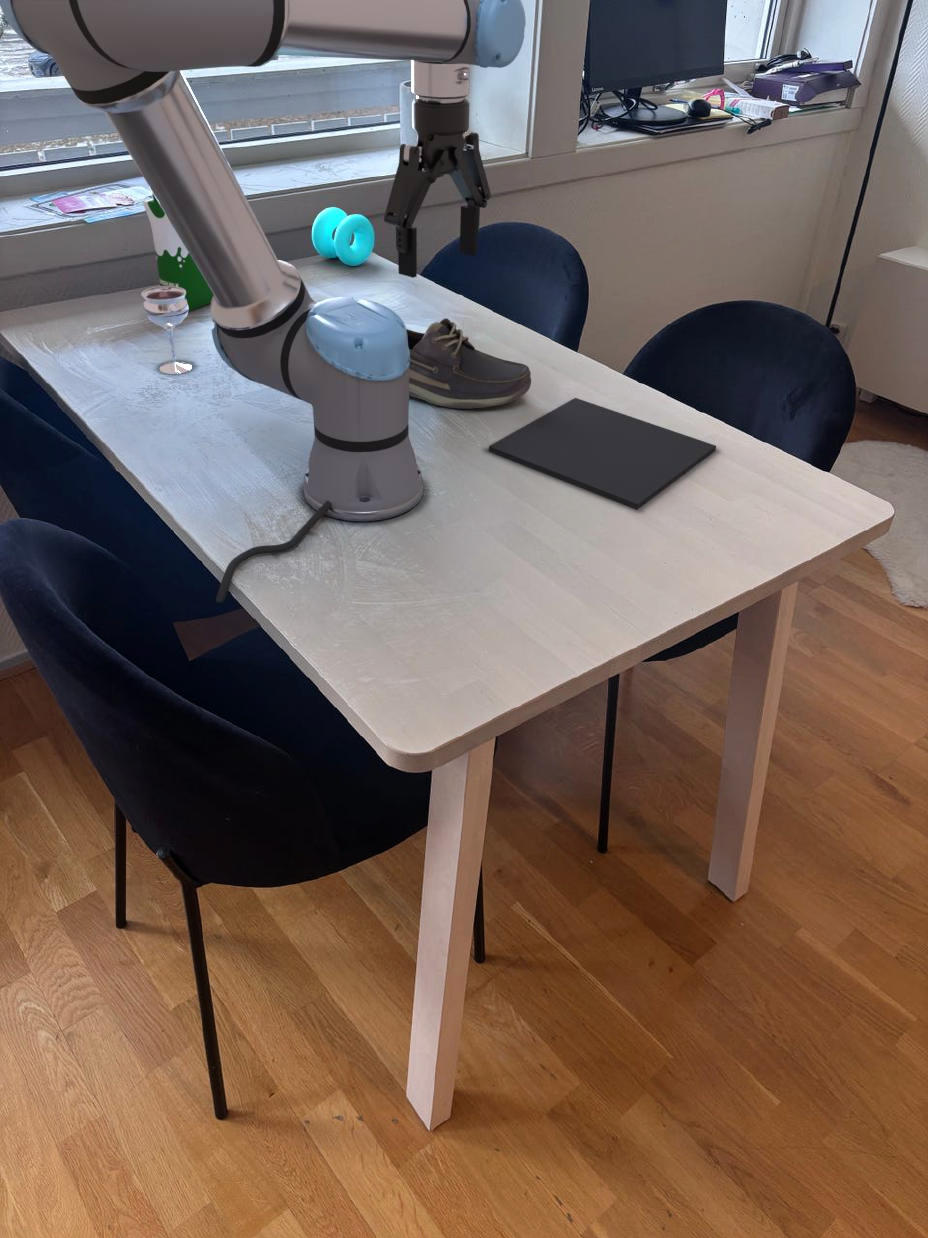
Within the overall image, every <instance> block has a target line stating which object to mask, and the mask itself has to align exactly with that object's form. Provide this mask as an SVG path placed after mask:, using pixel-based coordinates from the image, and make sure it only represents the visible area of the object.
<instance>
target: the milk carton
mask: <svg viewBox="0 0 928 1238" xmlns="http://www.w3.org/2000/svg"><path fill="white" fill-rule="evenodd" d="M151 193H152V198H149V199H145V200H142V204H143V207H144V210H145V213H146V215H147V218H148V220H149V224H150V227H151V233H152V240H153V246H154V252H155V259H156V265H157V266H156V267H157V272H158V281H159V286H175V287H180V288H183V289H184V290H186V294H185V298H186V300H187V302H188V307H189V310H188V312H190V311H193V310H195V309H198V308H200V307H203V306H206V305H209V304H211V301H212V298H213V295H214V294H213V292H212V291H211V289H210V287H209V286H208V284H207V282H206V281H205V279H204V277H203V276H202V274H201V272H200V271H199V269H198V267H197V266H196V264H195V262H194V261H193V259H192V257H191V256H190V254H189V252H188V251H187V249H186V247H185V245H184V244H183V242H182V240H181V239H180V237H179V235H178V234H177V232H176V230H175V229H174V227H173V225H172V224H171V222H170V220H169V219H168V217H167V215H166V214H165V212H164V210H163V209H162V207H161V205H160V204H159V202H158V200H157V199H156V197H155V195H154V194H153V192H152V191H151Z"/></svg>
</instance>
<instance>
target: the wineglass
mask: <svg viewBox="0 0 928 1238" xmlns="http://www.w3.org/2000/svg"><path fill="white" fill-rule="evenodd" d="M185 294H186V290H184V289H183V288H180V287H175V286H160V285H158V286H153V287H149V288H146V289H145V290H143V291H142V292H141V295H140V296H141V297H142V298H143V299H144V300H143V304H142V305H143V306H142V309H143V312H144V314H145V316H146V318H147V319H148V320H149V321H151V322H152V323H153V324H154V325H156V326H159V327H162V328H163V329H164V330H166V332H167V336H168V342H169V347H170V351H171V357H172V361H171V362H167V363H164V364H162V365H160V367H159V371H160V372H161V373H163V374H168V375H180V374H184V373H187V372H189V371H190V370H191V369H192V365H191V364H190V363H189V362H185V361H177V359H176V352H175V342H174V332H173V330H175V327H176V326H178V325H180V324H182V323H183V321H184V320H185V319H186V317H187V316H188V313H189V311H188V310H189V307H188V302H187V300H186V298H185Z"/></svg>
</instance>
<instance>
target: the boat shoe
mask: <svg viewBox="0 0 928 1238" xmlns="http://www.w3.org/2000/svg"><path fill="white" fill-rule="evenodd" d="M406 330H407V337H408V347H409V351H410V363H409V397H413V398H417V399H419V400H424V401H425V402H427V403H429V404H432V405H434V406H439V407H444V408H449V409H457V410H460V409H461V410H468V409H469V410H470V409H471V410H472V409H483V408H490V407H496V406H501V405H505V404H508V403H511V402H513V401H515V400H517V399H519V398H521V397H523V396H524V395H525V394H526V393H528V391H529V390H530V388H531V385H532V378H531V375H532V374H531V373H532V372H531V370H530V367H529V366H528V365H527V364H524V363H521V362H515V361H510V360H507V359H503V358H499V357H496V356H493V355H490V354H488V353H485V352H482V351H480V350H478V349H476V347H475V346H474V345H473V344H472V343H471V342H470V341H469V336H463V330H462V328H458V329H457V323H456V322H453V321H451V320H450V319H449V318H447V317H445V318H443V319H442V320H441V321H439V322H438V321H435V322H433V323H431V324H430V325H429V326H428V327H427V328H426V330H425V332H418V331H414V330H411V329H409V328H406Z"/></svg>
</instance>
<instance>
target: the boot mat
mask: <svg viewBox="0 0 928 1238" xmlns="http://www.w3.org/2000/svg"><path fill="white" fill-rule="evenodd" d="M716 450H717V445H715V444H712V443H710V442H706V441H703V440H702V439H701V440H700V439H698V438H695V437H692V436H689V435H686V434H684V433H680V432H677V431H674V430H671V429H669V428H665V427H663V426H659V425H657V424H654V423H651V422H648V421H645V420H642V419H639V418H635V417H632V416H630V415H627V414H624V413H622V412H618V411H615V410H613V409H610V408H607V407H605V406H601V405H597V404H595V403H592V402H589V401H586V400H583V399H581V398H578V397H574V398H572V399H570V400H568V401H567V402H565V403H564V404H562V405H559V406H558V407H557V408H555V409H552V410H551V411H549V412H547V413H545V414H544V415H542V416H540V417H538V418H536V419H535V420H533V421H531V422H529V423H528V424H526V425H524V426H522V427H521V428H518V429H517V430H515V431H514V432H512V433H510V434H508V435H506V436H505V437H503V438H501V439H499V440H497V441H495V442H494V443H491V444H490V445H489V446H488V452H490V453H493V454H494V455H498V456H499V457H503V458H505V459H508V460H510V461H513V462H515V463H518V464H520V465H523V466H526V467H527V468H531V469H533V470H536V471H538V472H541V473H543V474H546V475H548V476H550V477H554V478H556V479H558V480H561V481H564V482H566V483H569V484H571V485H574V486H575V487H579V488H581V489H583V490H587V491H589V492H592V493H594V494H596V495H599V496H602V497H604V498H606V499H608V500H609V499H610V500H612V501H615V502H617V503H619V504H621V505H625V506H627V507H629V508H632V509H635V510H638V509H640V508H641V507H643V506H644V505H645V504H647V503H648V502H649V501H650V500H652V499H653V498H654V497H656V496H658V495H659V494H660V493H661V492H662V491H664V490H665V489H667V488H668V487H669V486H670V485H672V484H673V483H675V482H676V481H677V480H678V479H680V478H681V477H682V476H684V475H686V473H688V472H689V471H690V470H692V469H693V468H695V467H696V466H698V464H700V463H701V462H702V461H704V460H705V459H707V458H708V457H709V456H711V455H712V454H714V452H715V451H716Z"/></svg>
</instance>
